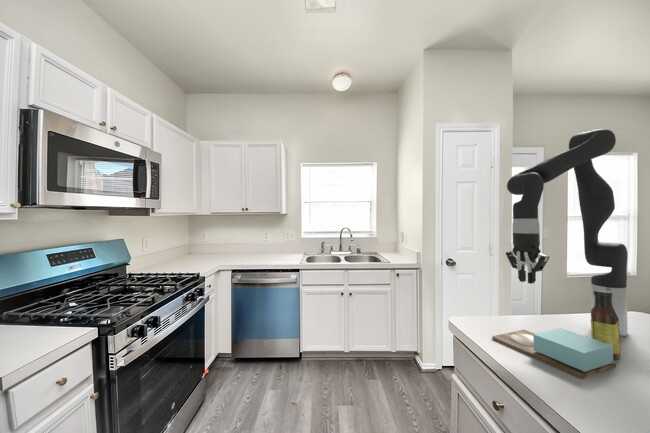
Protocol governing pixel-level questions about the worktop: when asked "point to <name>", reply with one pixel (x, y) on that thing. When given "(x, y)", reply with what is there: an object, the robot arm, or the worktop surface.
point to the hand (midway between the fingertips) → (526, 282)
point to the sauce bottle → (605, 321)
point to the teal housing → (573, 349)
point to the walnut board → (525, 344)
